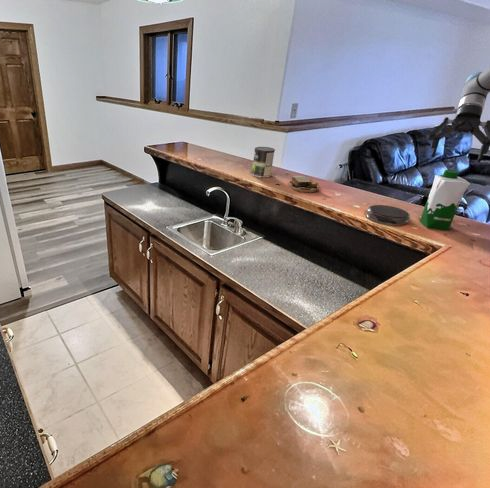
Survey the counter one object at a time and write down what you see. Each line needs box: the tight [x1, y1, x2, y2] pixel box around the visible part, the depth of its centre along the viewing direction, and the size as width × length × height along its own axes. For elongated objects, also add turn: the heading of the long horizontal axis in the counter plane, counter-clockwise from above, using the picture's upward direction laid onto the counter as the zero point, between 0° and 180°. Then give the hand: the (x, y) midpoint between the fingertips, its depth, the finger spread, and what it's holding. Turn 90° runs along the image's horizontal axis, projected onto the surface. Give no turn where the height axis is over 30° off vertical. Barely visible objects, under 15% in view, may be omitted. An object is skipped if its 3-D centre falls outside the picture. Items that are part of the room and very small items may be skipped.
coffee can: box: [251, 146, 276, 179], centre depth 185 cm, size 10×10×14 cm
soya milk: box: [419, 169, 471, 232], centre depth 125 cm, size 9×9×20 cm
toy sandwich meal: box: [289, 175, 319, 193], centre depth 167 cm, size 12×14×5 cm
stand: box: [365, 204, 411, 228], centre depth 134 cm, size 14×14×4 cm
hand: (455, 157), depth 127 cm, fingers open, 13 cm apart
